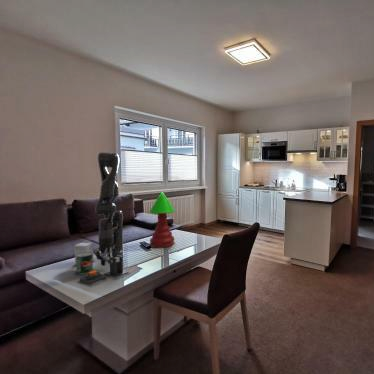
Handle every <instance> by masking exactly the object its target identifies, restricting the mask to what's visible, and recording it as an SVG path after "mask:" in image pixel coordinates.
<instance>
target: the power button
mask: <svg viewBox="0 0 374 374" xmlns="http://www.w3.org/2000/svg"><path fill="white" fill-rule="evenodd" d="M88 273H89V276H92V275H96V274H97V270H96V269H95V270H94V269H93V270H92V271H90V272H88Z"/></svg>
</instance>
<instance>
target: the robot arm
mask: <svg viewBox="0 0 374 374" xmlns="http://www.w3.org/2000/svg"><path fill="white" fill-rule="evenodd" d="M97 163H98V168H99V174H100V180H101V185H100V191H99V198H98V201H97V203H96V205H95V208H94V213H95V214H96V215H97V216H104V218H101V219H100V220H99V221H98V249H97V250H93V254H94V255H95V257H96V259H97V260H100V265H101V266H106V262H105V257H106V256H108V257H109V258H110V257H113V258H115V257H116V255H120V256H123V257H124V234H123V232H124V231H123V226H124V225H123V223H124V222H123V221H124V214H123V211H122V210H117V205H116V204H115V201H116V200H117V198H118V197H119V194H120V192H119V185H118V182H116V180H117V175H118V170H119V165H120V157H119V154H118V153H116V152H99V153H98V155H97ZM108 168H111V170H110V172H108ZM114 225H116V226H114ZM113 226H114V227H113ZM107 264H109V265H110V260H109V261H107Z"/></svg>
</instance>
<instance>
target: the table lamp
mask: <svg viewBox="0 0 374 374" xmlns="http://www.w3.org/2000/svg"><path fill="white" fill-rule="evenodd" d="M149 213H150V214H157V222H156V226H155V228H154V232H153V233H152V234H151V235H152V237H151V238H150V239H149V242H150V243H149V247H151V248H157V249H159V248H168V247H172V246H173V245H175V243H176V242H175V237H174V236H173V232H172V231H171V230H170V226H169V225H168V220H167V219H168V215H167V214H172V213H175V209H174V207H173V206H172V204H171V202H170V200H169V199H168V197H167V196H166V195H165V193H164V192H163V191H161V193H160V194H159V196H158V197H157V198H156V200H155V201H154V204H153V205H152V206H151V208H150V210H149Z"/></svg>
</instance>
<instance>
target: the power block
mask: <svg viewBox="0 0 374 374" xmlns="http://www.w3.org/2000/svg"><path fill="white" fill-rule="evenodd" d="M96 271H97V270H96ZM106 279H107V275H105V274H101V272H100V271H97V274H96V275H92V276H89V272H87V273H85V275H84V276H82V277H79V281H80V282H83V283H86V284H88V285H93V284H97V283H98V282H99V283H100V282H101V281H103V280H106Z"/></svg>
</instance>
